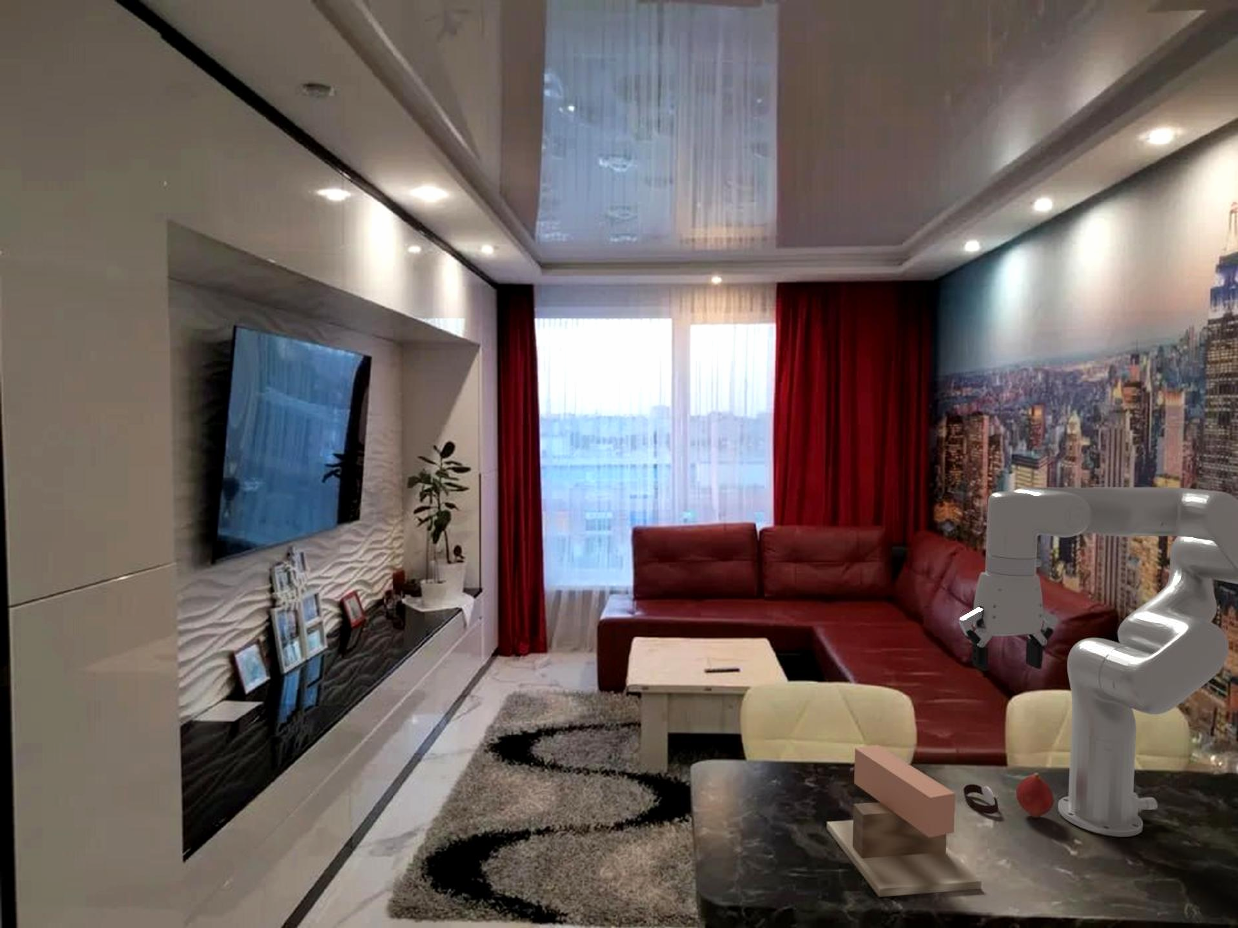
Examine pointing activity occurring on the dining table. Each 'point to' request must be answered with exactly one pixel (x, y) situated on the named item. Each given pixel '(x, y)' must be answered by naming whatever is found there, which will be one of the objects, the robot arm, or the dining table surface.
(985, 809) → the watch
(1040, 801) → the onion
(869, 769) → the beam
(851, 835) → the stand
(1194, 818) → the dining table surface
